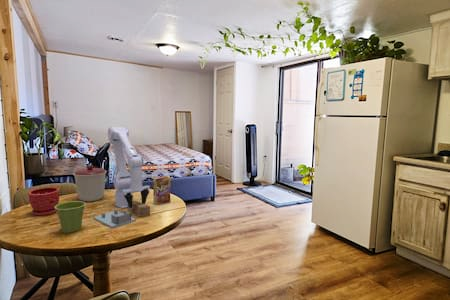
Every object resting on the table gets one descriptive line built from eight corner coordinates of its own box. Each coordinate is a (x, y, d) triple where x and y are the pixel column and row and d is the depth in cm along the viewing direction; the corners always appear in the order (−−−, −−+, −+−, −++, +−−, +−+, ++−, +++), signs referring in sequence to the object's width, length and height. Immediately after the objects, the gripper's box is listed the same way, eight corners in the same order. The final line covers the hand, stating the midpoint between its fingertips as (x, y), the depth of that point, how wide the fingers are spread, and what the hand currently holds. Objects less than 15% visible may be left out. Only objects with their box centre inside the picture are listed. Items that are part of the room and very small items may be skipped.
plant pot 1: (24, 214, 139) (22, 191, 138) (51, 207, 151) (49, 185, 150) (39, 219, 133) (37, 195, 132) (66, 211, 145) (64, 188, 143)
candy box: (155, 205, 155) (155, 178, 153) (153, 203, 158) (152, 177, 156) (170, 202, 159) (170, 176, 158) (168, 200, 163) (167, 175, 161)
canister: (77, 196, 172) (75, 162, 169) (109, 193, 177) (107, 161, 174) (71, 205, 154) (68, 168, 152) (106, 202, 160) (104, 166, 157)
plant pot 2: (84, 233, 117) (82, 208, 116) (52, 237, 114) (50, 210, 112) (89, 223, 128) (88, 199, 127) (60, 226, 125) (58, 202, 124)
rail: (128, 211, 145) (128, 202, 145) (135, 209, 148) (134, 200, 148) (143, 217, 136) (142, 208, 136) (150, 215, 139) (149, 206, 139)
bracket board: (93, 218, 134) (92, 209, 133) (116, 212, 143) (116, 203, 143) (112, 228, 122) (111, 218, 122) (136, 220, 132) (135, 211, 131)
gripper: (127, 183, 133) (128, 210, 135) (152, 178, 144) (153, 203, 146) (119, 181, 138) (121, 207, 139) (145, 176, 149) (145, 201, 150)
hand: (137, 205), depth 143 cm, fingers open, 7 cm apart
